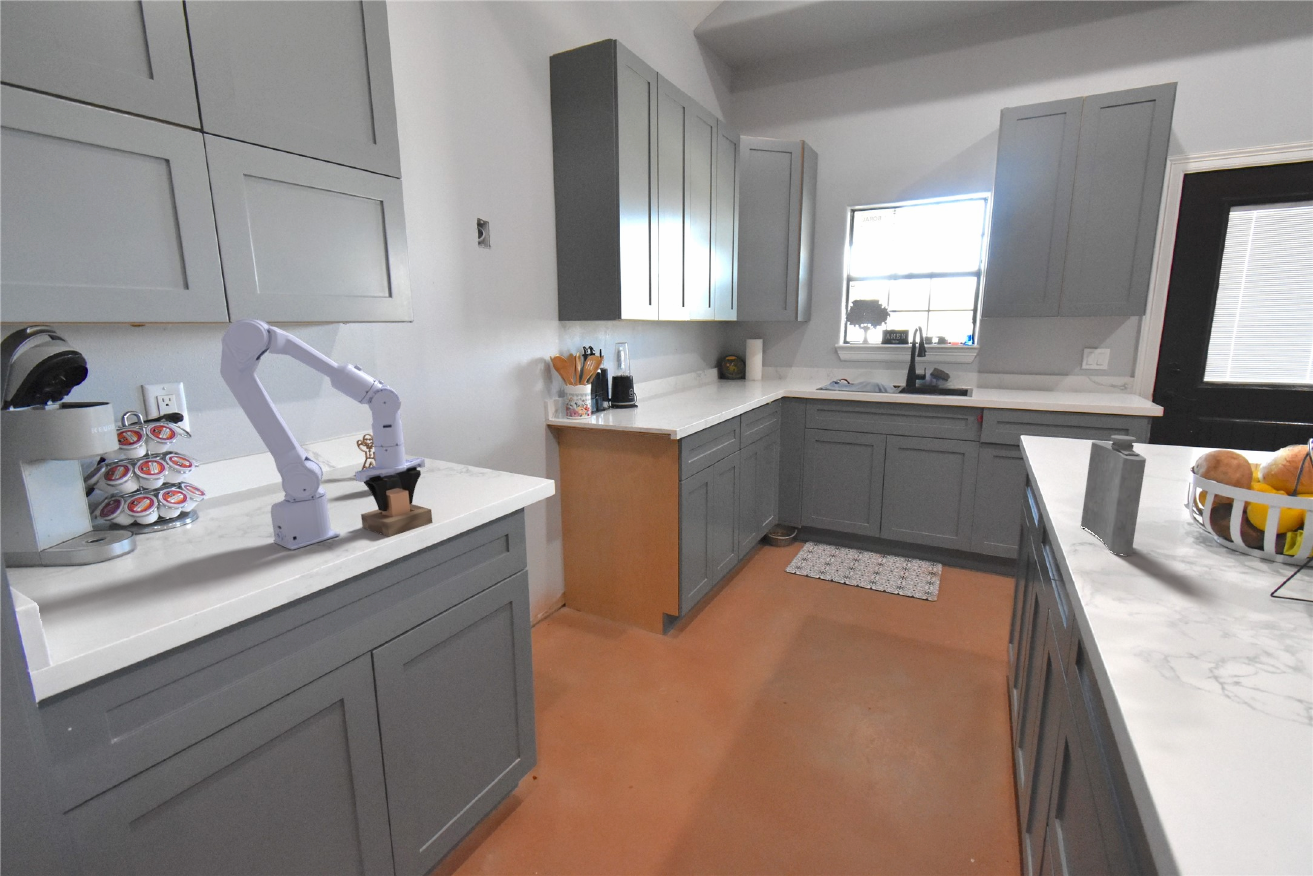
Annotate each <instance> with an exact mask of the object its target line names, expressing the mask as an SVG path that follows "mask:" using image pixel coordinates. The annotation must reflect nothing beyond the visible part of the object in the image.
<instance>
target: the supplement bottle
mask: <svg viewBox="0 0 1313 876" xmlns="http://www.w3.org/2000/svg"><path fill="white" fill-rule="evenodd" d="M375 465H376V459H375V461H374V466H375ZM381 478H383V480H385V481H387V489H386V491H388V490H392V489H396V488H399V489H402V486H401V482H400V478H399V475H398V473H394V474H390V475H386V476H382V477H381Z"/></svg>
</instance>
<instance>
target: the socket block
mask: <svg viewBox="0 0 1313 876" xmlns="http://www.w3.org/2000/svg"><path fill="white" fill-rule="evenodd" d="M360 516H361V517H360V518H361V526H362V529H365V528H367V529H366V530H368V529H369V531H371V530H372V531H371V532H374V533H378V534H380V533H381V534H380V535H383V536H386V537H390V538H391V537H393V536H396V535H399V534H402V533H405V532H408V531H410V530H414V529H417V528H420V527H423V526H426V525H429V524H433V513H432V509H431V508H427V507H424V506H420V505H417V504H413V503H412V504H410V512H408V513H405V514H402V515H399V516H395V517H389V516H385V515H382V511H380V510H379V509H374V510H372V511H368V512H367V511H366V512H365V513H361V514H360Z"/></svg>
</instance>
